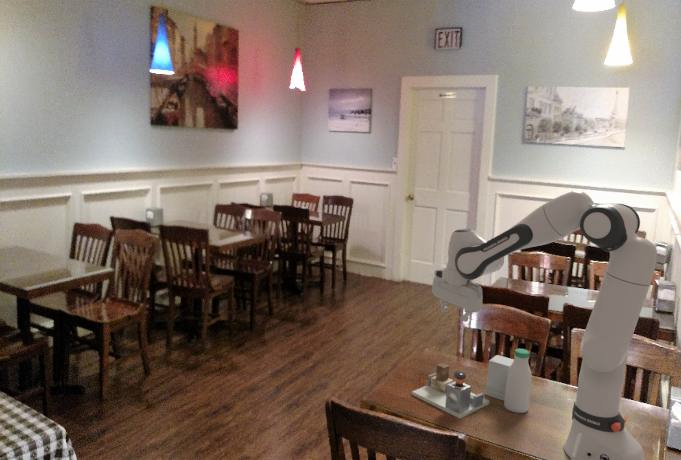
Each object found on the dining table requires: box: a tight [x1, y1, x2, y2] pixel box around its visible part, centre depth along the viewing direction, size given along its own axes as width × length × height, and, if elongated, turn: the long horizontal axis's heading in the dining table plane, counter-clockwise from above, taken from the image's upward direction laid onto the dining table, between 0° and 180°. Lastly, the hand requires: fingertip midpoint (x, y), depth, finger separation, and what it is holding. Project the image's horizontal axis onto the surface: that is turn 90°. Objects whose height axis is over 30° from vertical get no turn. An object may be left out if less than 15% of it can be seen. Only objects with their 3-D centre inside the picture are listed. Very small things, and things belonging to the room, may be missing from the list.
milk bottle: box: [503, 348, 533, 414], centre depth 182 cm, size 8×8×20 cm
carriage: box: [430, 362, 455, 393], centre depth 192 cm, size 6×5×8 cm
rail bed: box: [411, 372, 490, 420], centre depth 187 cm, size 20×16×5 cm
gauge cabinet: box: [445, 380, 472, 414], centre depth 179 cm, size 5×6×9 cm
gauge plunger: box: [453, 370, 467, 389], centre depth 178 cm, size 4×4×8 cm
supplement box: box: [485, 354, 515, 402], centre depth 192 cm, size 7×7×13 cm
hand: (454, 316), depth 187 cm, fingers open, 8 cm apart
